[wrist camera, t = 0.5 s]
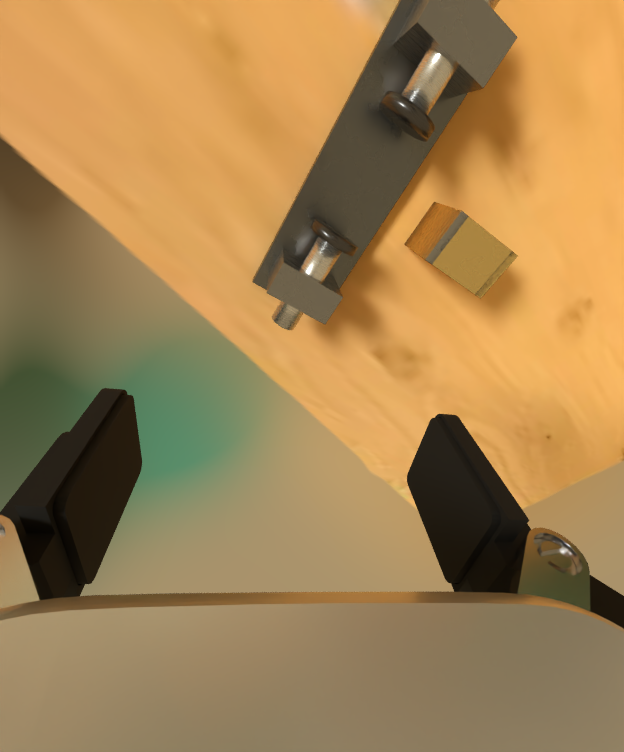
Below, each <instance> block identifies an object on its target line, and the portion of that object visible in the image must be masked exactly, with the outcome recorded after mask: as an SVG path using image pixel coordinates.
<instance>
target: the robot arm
mask: <svg viewBox="0 0 624 752" xmlns="http://www.w3.org/2000/svg"><path fill="white" fill-rule="evenodd" d="M141 466H142V457H141V450H140V442H139V435H138V428H137V420H136V412H135V406H134V398H133V396H131V395H127V392H126V391H125V390H121V389H107V388H104V389H102V390H101V391H100V392H99V393H98V395H97V396H96V397H95V399H94V400H93V401H92V403H91V404H90V405H89V407H88V408H87V409H86V411H85V412H84V413H83V415H82V416H81V417H80V419H79V420H78V421H77V423H76V424H75V426H74V427H73V428H72V429H71V431H70V432H65V433H62V434H61V435H60V436H59V438H57V440H56V441H55V442H54V444H53V445H52V446H51V448H50V449H49V450H48V451H47V453H46V454H45V455H44V457H43V458H42V459H41V460H40V462H39V463H38V464H37V466H36V467H35V468H34V470H33V471H32V472H31V473H30V475H29V476H28V477H27V479H26V480H25V481H24V483H23V484H22V485H21V486H20V488H19V489H18V490H17V491H16V493H15V494H14V495H13V497H12V498H11V499H10V500H9V502H8V503H7V504H6V506H5V507H4V508H3V509H2V511H1V512H0V752H624V596H623V595H621V594H619V593H618V592H616V591H615V590H613V589H612V588H610V587H608V586H607V585H605V584H604V583H602V582H600V581H599V580H597V579H595V578H594V577H592V576H591V575H590V571H589V566H588V563H587V561H586V559H585V557H584V556H583V554H582V553H581V552H580V551H579V549H578V548H577V547H576V546H575V545H574V544H573V543H571V542H570V541H569V540H568V539H566V538H565V537H563V536H562V535H560V534H558V533H556V532H554V531H552V530H549V529H545V528H534V529H532V530H531V529H530V527H529V526H528V524H527V522H528V521H529V520H528V518H527V516H526V515H525V513H524V512H523V510H522V509H521V507H520V506H519V505H518V503H517V502H516V500H515V499H514V497H513V496H512V494H511V493H510V491H509V490H508V489H507V487H506V486H505V484H504V483H503V481H502V480H501V478H500V477H499V475H498V474H497V473H496V471H495V470H494V468H493V467H492V465H491V464H490V462H489V461H488V460H487V458H486V457H485V455H484V454H483V452H482V451H481V449H480V448H479V446H478V445H477V444H476V442H475V441H474V439H473V438H472V436H471V435H470V433H469V432H468V430H467V429H466V428H465V426H464V425H463V423H462V422H461V420H460V419H459V417H458V416H456V415H448V414H438V415H437V416H436V417H435V418H432V419H431V420H430V422H429V425H428V427H427V429H426V432H425V434H424V437H423V439H422V441H421V444H420V446H419V448H418V451H417V453H416V455H415V458H414V460H413V463H412V465H411V467H410V470H409V472H408V475H407V483H408V486H409V489H410V491H411V494H412V496H413V499H414V501H415V504H416V506H417V509H418V511H419V514H420V516H421V519H422V521H423V524H424V526H425V529H426V532H427V534H428V536H429V539H430V541H431V544H432V546H433V549H434V552H435V554H436V557H437V559H438V562H439V565H440V567H441V569H442V572H443V575H444V577H445V579H446V580H447V582H448V583H451V584H452V587H453V589H454V592H270V593H269V592H268V593H267V592H260V593H258V592H256V593H255V592H254V593H169V594H129V595H94V596H93V595H92V596H80V594H81V592H82V590H83V587H84V585H85V584H90V583H92V581H93V580H94V578H95V576H96V574H97V572H98V569H99V567H100V565H101V562H102V560H103V557H104V555H105V553H106V551H107V548H108V546H109V544H110V541H111V539H112V537H113V534H114V532H115V530H116V528H117V525H118V523H119V521H120V518H121V516H122V514H123V511H124V508H125V507H126V504H127V502H128V499H129V497H130V495H131V493H132V490H133V488H134V486H135V483H136V481H137V479H138V477H139V474H140V471H141Z"/></svg>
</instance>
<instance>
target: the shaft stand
mask: <svg viewBox="0 0 624 752" xmlns="http://www.w3.org/2000/svg"><path fill="white" fill-rule="evenodd" d="M499 1H500V0H399V2H398V4H397V6H396V8H395V10H394V12H393V13H392V15H391V17H390V19H389V21H388V23H387V25H386V27H385V29H384V31H383V33H382V34H381V36H380V38H379V40H378V42H377V44H376V46H375V48H374V50H373V52H372V53H371V55H370V57H369V59H368V61H367V63H366V65H365V67H364V69H363V71H362V72H361V74H360V76H359V78H358V80H357V82H356V84H355V86H354V88H353V90H352V92H351V93H350V95H349V97H348V99H347V101H346V103H345V105H344V107H343V109H342V111H341V112H340V114H339V116H338V118H337V120H336V122H335V124H334V126H333V128H332V130H331V132H330V133H329V135H328V137H327V139H326V141H325V143H324V145H323V147H322V149H321V151H320V152H319V154H318V156H317V158H316V160H315V162H314V164H313V166H312V168H311V170H310V172H309V173H308V175H307V177H306V179H305V181H304V183H303V185H302V187H301V189H300V191H299V192H298V194H297V196H296V198H295V200H294V202H293V204H292V206H291V208H290V210H289V212H288V213H287V215H286V217H285V219H284V221H283V223H282V225H281V227H280V229H279V231H278V232H277V234H276V236H275V238H274V240H273V242H272V244H271V246H270V248H269V250H268V251H267V253H266V255H265V257H264V259H263V261H262V263H261V265H260V267H259V269H258V271H257V272H256V274H255V276H254V278H253V283H255V284H257V285H259V286H261V287H262V288H264V289H266V290H267V293H268V294H269V295H271V296H273V297H275V298H277V299H279V300H281V302H280V304H279V305H278V307H277V309H276V310H275V312H274V314H273V316H272V319H273V320H274V322H275V323H277V324H278V325H279V326H281V327H282V328H284V329H287V330H293V329H294V328H295V326H296V324H297V323H298V321H299V320H300V318H301V316H302V315H303V313H305V314H306V315H308V316H310V317H312V318H314V319H316V320H317V321H319V322H321V323H323V324H326V322H327V321H328V319H329V318H330V316H331V315H332V313H333V312H334V310H335V309H336V307H337V306H338V304H339V303H340V301H341V300H342V298H343V296H342V294H341V291H340V289H339V288H340V287H341V285H342V284H343V282H344V281H345V279H346V278H347V276H348V275H349V273H350V272H351V270H352V269H353V267H354V266H355V264H356V263H357V261H358V259H359V258H360V256H361V255H362V253H363V252H364V250H365V249H366V247H367V246H368V244H369V243H370V241H371V240H372V238H373V237H374V235H375V234H376V232H377V231H378V229H379V227H380V226H381V224H382V223H383V221H384V220H385V218H386V217H387V215H388V214H389V212H390V211H391V209H392V208H393V206H394V205H395V203H396V202H397V200H398V199H399V197H400V195H401V194H402V192H403V191H404V189H405V188H406V186H407V185H408V183H409V182H410V180H411V179H412V177H413V176H414V174H415V173H416V171H417V170H418V168H419V166H420V165H421V163H422V162H423V160H424V159H425V157H426V156H427V154H428V153H429V151H430V150H431V148H432V147H433V145H434V144H435V142H436V141H437V139H438V138H439V136H440V134H441V133H442V131H443V130H444V128H445V127H446V125H447V124H448V122H449V121H450V119H451V118H452V116H453V115H454V113H455V112H456V110H457V109H458V107H459V106H460V104H461V102H462V101H463V99H464V98H465V96H466V95H467V93H469V92H472V91H475V90H479V89H482V88H484V86H485V85H486V83H487V82H488V80H489V79H490V77H491V76H492V74H493V73H494V71H495V70H496V68H497V67H498V65H499V64H500V62H501V61H502V59H503V58H504V57H505V55H506V54H507V52H508V51H509V49H510V48H511V46H512V45H513V43H514V42H515V40H516V39H517V36H516V35H515V34H514V33H513V32H512V31H511V29H510V28H509V27H508V26H507V25H506V24H505V23H504V22H503V20H502V19H501V18H500V17H499V16H498V15H497V14H496V13H495V11H494V9H495V7H496V5H497V4H498V2H499Z"/></svg>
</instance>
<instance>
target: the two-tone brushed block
mask: <svg viewBox="0 0 624 752" xmlns="http://www.w3.org/2000/svg"><path fill="white" fill-rule="evenodd" d="M405 245H406V246H407V247H409V248H410V249H411V250H413V251H414V252H415V253H417V254H418V255H419V256H421V257H422V258H423V259H425V260H426V261H428V262H429V263H430V264H432V265H433V266H435V267H436V268H438V269H439V270H441V271H442V272H443V273H445V274H446V275H448V276H449V277H451V278H452V279H453V280H455V281H456V282H458V283H459V284H461V285H462V286H463V287H465V288H466V289H468V290H469V291H471V292H472V293H474V294H475V295H476V296H478V297H479V298H482V297H483V295H484V294H485V293H486V292H487V291H488V290H489V288H490V287H491V286H492V285H493V284H494V283H495V282H496V280H497V279H498V278H499V277H500V276H501V275H502V274H503V272H504V271H505V270H506V269H507V268H508V267H509V266H510V264H511V263H512V262H513V261H514V260H515V259H516V258H517V256H518V255H516V254H515V253H514V252H513V251H511V250H510V249H509V248H508V247H506V246H505V245H504V244H503V243H501V242H500V241H499V240H498V239H496V238H495V237H494V236H493V235H491V234H490V233H489V232H487V231H486V230H485V229H484V228H482V227H481V226H480V225H479V224H477V223H476V222H475V221H474V220H472V219H471V218H470V217H469V216H467V215H466V214H465V213H464V212H462V211H460V210H457V209H454V208H451V207H448V206H445V205H442V204H439V203H436V202H434V203H433V204H432V206H431V207H430V209H429V210H428V212H427V213H426V214H425V216H424V217H423V219H422V220H421V221H420V223H419V224H418V226H417V227H416V229H415V230H414V231H413V233H412V234H411V236H410V237H409V238H408V240H407V241H406V243H405Z"/></svg>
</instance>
